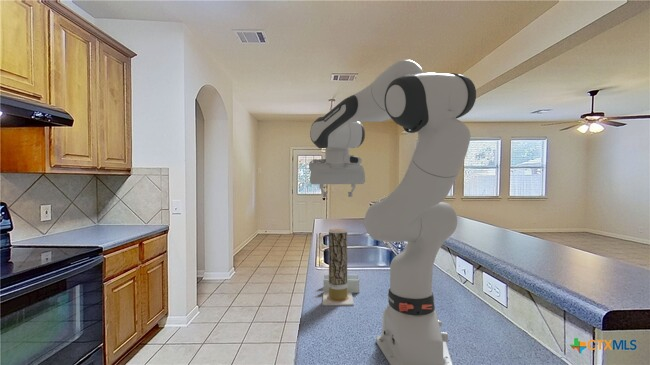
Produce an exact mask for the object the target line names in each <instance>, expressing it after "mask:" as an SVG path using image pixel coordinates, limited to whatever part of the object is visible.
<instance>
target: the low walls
mask: <svg viewBox="0 0 650 365" xmlns="http://www.w3.org/2000/svg"><path fill="white" fill-rule="evenodd" d="M323 292H329V274H323ZM347 292H352V294H360V279H359V274H347Z"/></svg>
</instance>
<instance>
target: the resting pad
mask: <svg viewBox="0 0 650 365" xmlns="http://www.w3.org/2000/svg"><path fill="white" fill-rule="evenodd" d="M322 295H323V296H322V306H346V307H347V306H351V307H352V306H355V305H354V304H355V303H354V297H353V293H352V292H347V298H346V299H344V300H333V299H331V298H330V297H329V292H324V291H323V294H322Z"/></svg>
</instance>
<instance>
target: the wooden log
mask: <svg viewBox="0 0 650 365" xmlns="http://www.w3.org/2000/svg"><path fill="white" fill-rule="evenodd" d="M328 275H329V297H330V298H331V299H333V300H344V299H346V298H347V275H348V229H346V228H331V229H328Z"/></svg>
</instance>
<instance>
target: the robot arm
mask: <svg viewBox="0 0 650 365" xmlns="http://www.w3.org/2000/svg"><path fill="white" fill-rule="evenodd" d="M476 98H477V90H476V85H475V84H474V82H473V81H472V80H471V78H469V77H468V76H466V75H462V74H460V73H454V72H453V73H452V72H450V73H448V72H447V73H437V72H424V71H423V69H422V67H421V66H420V64H418V63H417V62H416V61H413V60H411V59H401V60H398V61H396V62H394V63H393V64H392V65H391V66H389V67H388V68H386V69H385V70H384V71H383V72H381V73H380V74H379V75H378V76H377V77H376V78H375V79H374V80H373V81H372V82H371V83H370V84H369V85H367V86H366V87H365V88H363V89H362V90H360V91H358V92H356V93H354V94H353V95H352V94H351V95H349V96H348V97H346V98H345V99H343V100H342V101H340V102H339V103H337V105H336V106H334V107H333V108H332V109H330V110H329V111H328V112H327V113H326V114H325V115H323V116H319V117H318V118H317V119H315V121H314V122H313V123H312V124H311V126H310V130H309V132H310V133H309V138H310V141H311V142H312V143H313V144H314V145H315V146H316V147H317V149H325V152H324V153H325V155H324V156H325V159H324V158H323V159H322V158H320V159H317V158H315V159H311V161H309V163H308V169H309V172H310V174H309V183H310V185H319V189H320V191H321V193H322V198H327V194H328V193H327V192H328V191H324V189H323V188H324V185H350V187H351V190H350V191H348V192H347V193H348V195H347V197H349V198H352V197H353V192H354V191H355V189H356V185H364V184H365V182H366V174H365V167H364V166H363V165H362V158H361V157H359V156H355V155H353V154H350V149H356V148H359V147H360V146H361V145H362V144H363V143H364V141H365V138H366V130H365V127H364V125H363V124H362V123H380V122H386V121H388V120H392V121H393V122H394V123H395V124H397V125H399V126H401V127H402V129H404V131H405V132H406V133H409V134H414V133H415V134H416V133H417V136H418V140H417V143H416V146H415V150H414V152H413V154H412V157H411V159H410V162H409V164H408V166H407V169H406V172H405V174H404V175H403V178H402V179H401V180H400V182H399V184H398V185H397V186H396V187H395V189H393V190H392V192H390V193H389V194H388V195H387V196H386V197H384V198H382V199H381V200H379V201H377V202H375V203H373V204H370V206H369V207H368V209H367V210H366V213H365V216H364V227H365V230H366V232H367V234H368V235H369V237H370V238H371V239H372V240H374V241H378V242H379V241H380V242H385V243H402V242H403V243H404V242H407V244H406V246H405V248H404V249H403V250H402V252H400V253H398V254H397V255H395V256H394V257H393V259H392V260H391V262H390V265H389V267H390V268H389V269H390V270H389V276H390V277H389V289H388V293H387V297H388V301H387V302H388V305H387V307H385V309H384V310H383V311H382V327H381V328H382V329H381V334H380V335H377V336H376V337H375V342H376V344H377V346H378V347H379V349H380V351H381V352H382V353H383V356H384V357H385V359H386V361H387V362H388V363H389V365H453V361H452V358H451V356H450V354H451V353H450V351H449V348H448V344H447V342H449V337H448V332H447V331H441V328H440V327H442V326H443V322H442V320H439V318H438V311H437V310H436V308H435V303H436V302H435V297H434V292H433V270H434V263H435V260H436V257H437V255H438V253H439V250H440V249H441V247H442V246H443V244H444V243H445V242H446V241H447V240H448V238H450V237H451V236H453V234H454V233H455V231H456V230H457V227H458V216H457V212H456V210H455V209H454V208H453V206H452V205H451V204H450V203H448V202H443V201H444V200H445V199H446V198H447V196H449V193H450V192H451V189H452V188H453V185H454V183H455V181H456V179H457V177H458V175H459V172H460V171H461V169H462V167H463V164H464V162H465V159H466V156H467V152H468V149H469V146H470V141H471V131H470V129H469V127H468V125H466V124H465V123H464V122H463V121H462V120H460V119H459V118H462V117H464V116H466V114H468V113H469V112H470V111H471V110H472V109H473V107H474V106H475V104H476V100H477V99H476Z"/></svg>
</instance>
